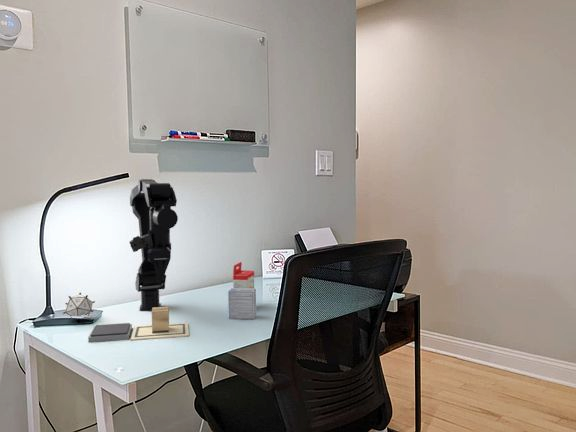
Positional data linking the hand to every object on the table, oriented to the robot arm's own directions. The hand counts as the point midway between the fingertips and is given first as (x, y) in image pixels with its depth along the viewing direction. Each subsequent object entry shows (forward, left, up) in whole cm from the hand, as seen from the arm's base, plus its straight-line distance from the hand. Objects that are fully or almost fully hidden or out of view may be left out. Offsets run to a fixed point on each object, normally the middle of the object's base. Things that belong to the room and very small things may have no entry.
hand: (160, 278), depth 146 cm
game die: (-6, -24, -13) cm, 28 cm away
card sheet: (+11, 0, -13) cm, 17 cm away
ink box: (-9, +26, -13) cm, 31 cm away
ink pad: (+11, -13, -13) cm, 21 cm away
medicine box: (+2, +24, -13) cm, 27 cm away
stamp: (+11, 0, -13) cm, 17 cm away
